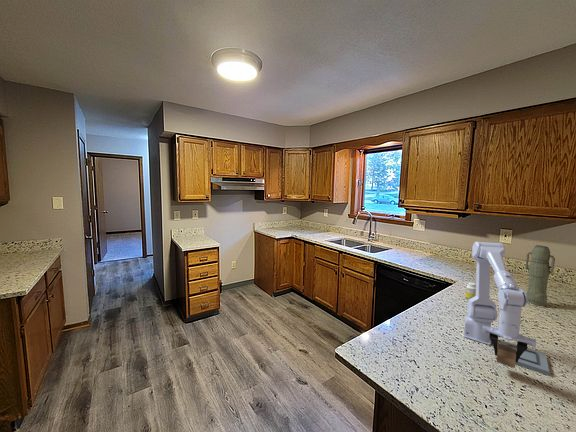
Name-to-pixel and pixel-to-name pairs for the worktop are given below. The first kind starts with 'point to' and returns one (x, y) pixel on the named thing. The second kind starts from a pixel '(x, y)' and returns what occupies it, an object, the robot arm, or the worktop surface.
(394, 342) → the worktop surface
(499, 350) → the walnut block
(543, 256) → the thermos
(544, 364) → the slate base plate
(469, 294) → the supplement bottle
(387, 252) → the worktop surface
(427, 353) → the worktop surface
